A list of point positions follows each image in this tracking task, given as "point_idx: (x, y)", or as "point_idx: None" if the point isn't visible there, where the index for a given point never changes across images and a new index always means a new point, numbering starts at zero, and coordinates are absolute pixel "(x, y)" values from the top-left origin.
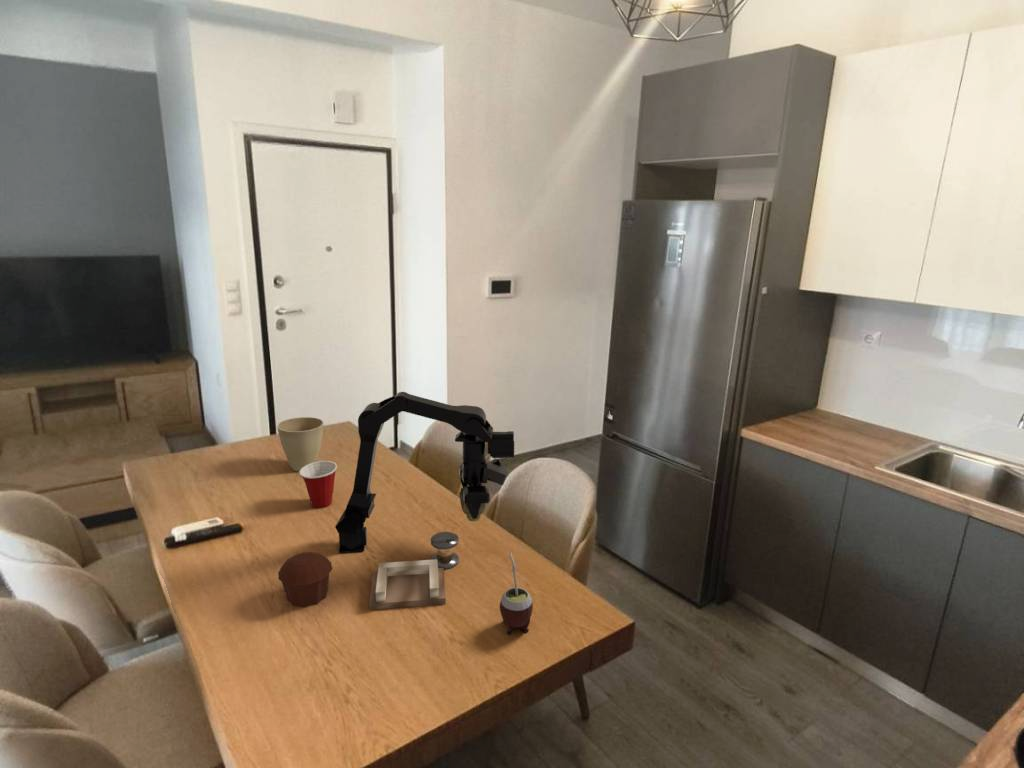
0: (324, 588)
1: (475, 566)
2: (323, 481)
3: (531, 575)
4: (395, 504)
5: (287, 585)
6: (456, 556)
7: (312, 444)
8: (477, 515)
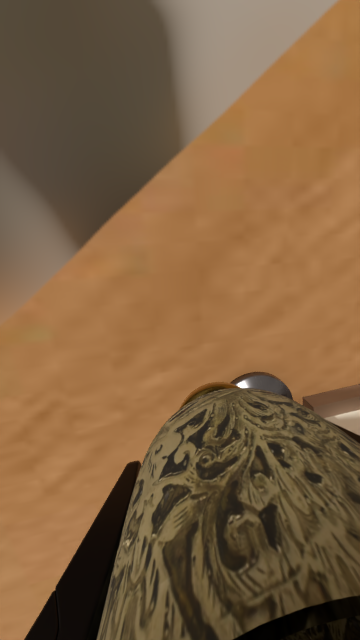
0: None
1: (277, 324)
2: None
3: (336, 133)
4: None
5: None
6: (245, 383)
7: None
8: (349, 431)
